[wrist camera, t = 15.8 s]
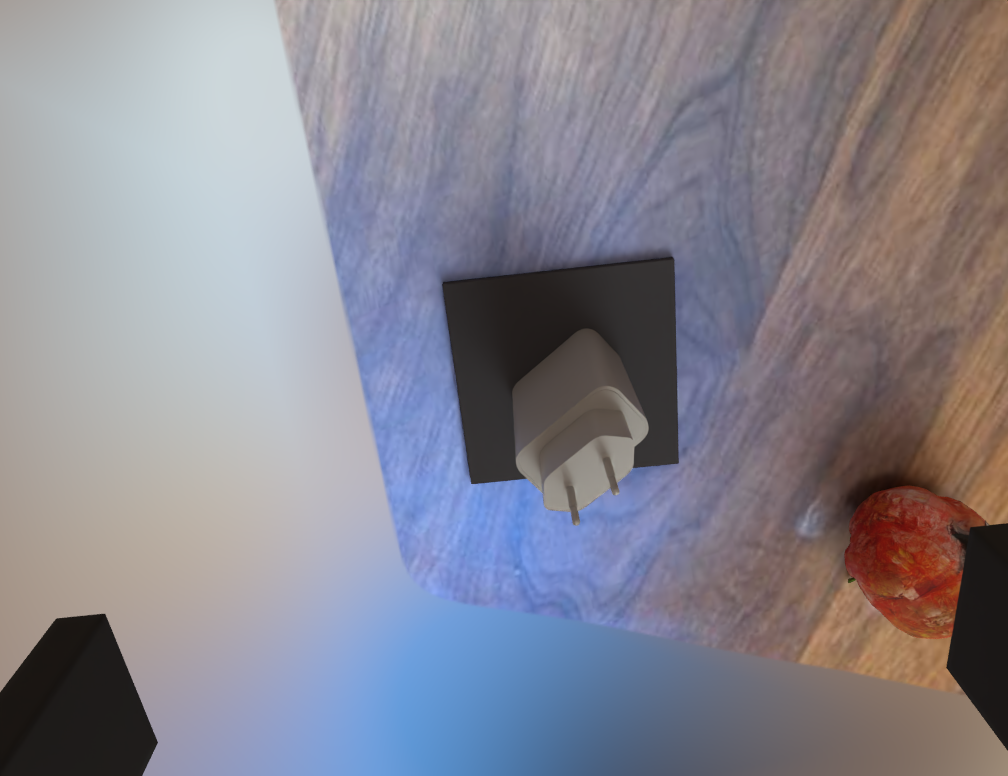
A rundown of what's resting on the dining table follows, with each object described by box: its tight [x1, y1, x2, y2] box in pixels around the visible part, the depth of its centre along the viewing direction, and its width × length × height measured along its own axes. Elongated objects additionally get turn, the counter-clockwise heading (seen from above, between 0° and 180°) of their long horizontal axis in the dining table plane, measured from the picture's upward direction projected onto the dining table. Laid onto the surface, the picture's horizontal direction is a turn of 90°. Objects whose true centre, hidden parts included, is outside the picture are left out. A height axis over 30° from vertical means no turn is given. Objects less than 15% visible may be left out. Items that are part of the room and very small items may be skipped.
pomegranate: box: [844, 485, 989, 639], centre depth 39 cm, size 7×7×10 cm
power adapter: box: [512, 328, 649, 526], centre depth 32 cm, size 3×5×12 cm, turn 133°
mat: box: [443, 257, 679, 484], centre depth 38 cm, size 11×11×1 cm
